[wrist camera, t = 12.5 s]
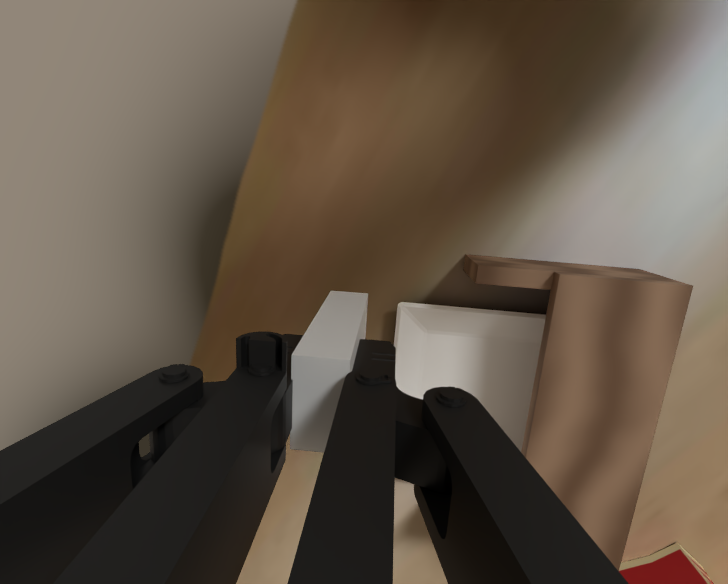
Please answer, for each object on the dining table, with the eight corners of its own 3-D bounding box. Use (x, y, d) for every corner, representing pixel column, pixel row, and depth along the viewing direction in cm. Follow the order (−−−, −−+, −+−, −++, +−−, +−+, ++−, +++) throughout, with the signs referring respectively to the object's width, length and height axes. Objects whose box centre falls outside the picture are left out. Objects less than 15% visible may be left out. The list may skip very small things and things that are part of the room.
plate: (381, 465, 46) (380, 477, 44) (397, 296, 42) (398, 302, 40) (557, 483, 46) (565, 497, 44) (592, 314, 41) (602, 320, 39)
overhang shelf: (432, 498, 47) (440, 552, 40) (465, 254, 40) (481, 267, 33) (583, 514, 46) (618, 572, 39) (639, 269, 40) (693, 285, 33)
